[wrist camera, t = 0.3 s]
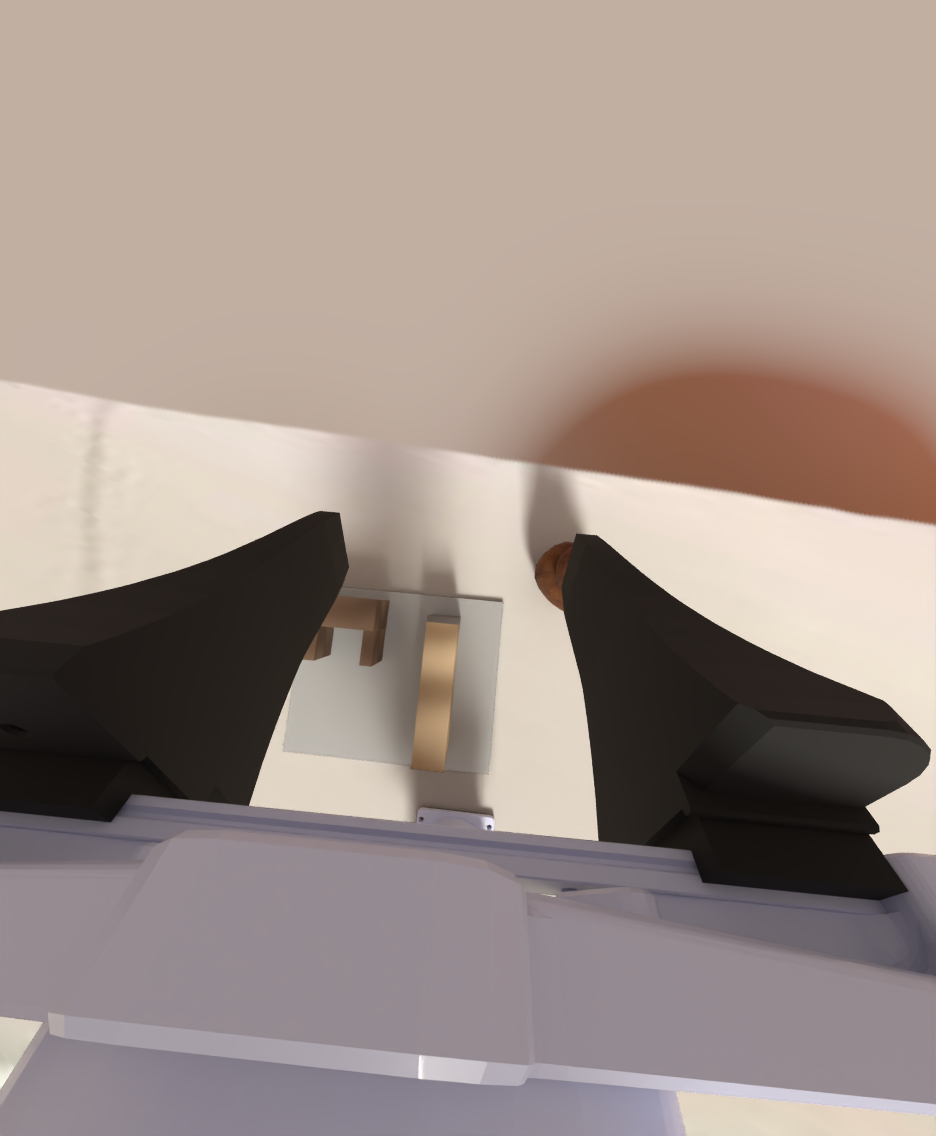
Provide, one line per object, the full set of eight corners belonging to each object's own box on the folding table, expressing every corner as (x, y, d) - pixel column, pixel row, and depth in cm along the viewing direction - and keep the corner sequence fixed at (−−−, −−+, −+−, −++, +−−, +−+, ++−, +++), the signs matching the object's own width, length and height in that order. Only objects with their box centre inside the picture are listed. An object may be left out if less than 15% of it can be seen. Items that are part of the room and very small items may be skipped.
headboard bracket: (382, 660, 38) (368, 668, 33) (319, 653, 39) (296, 661, 34) (389, 600, 39) (377, 599, 34) (327, 594, 39) (305, 593, 34)
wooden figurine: (519, 572, 39) (546, 553, 24) (559, 541, 40) (609, 502, 25) (559, 621, 39) (610, 631, 24) (599, 588, 39) (675, 578, 24)
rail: (447, 749, 37) (443, 772, 32) (419, 746, 37) (410, 768, 32) (460, 616, 39) (458, 618, 34) (433, 614, 39) (427, 615, 34)
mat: (488, 772, 37) (488, 774, 37) (284, 749, 38) (282, 751, 38) (503, 602, 39) (503, 602, 39) (308, 583, 40) (306, 583, 39)
